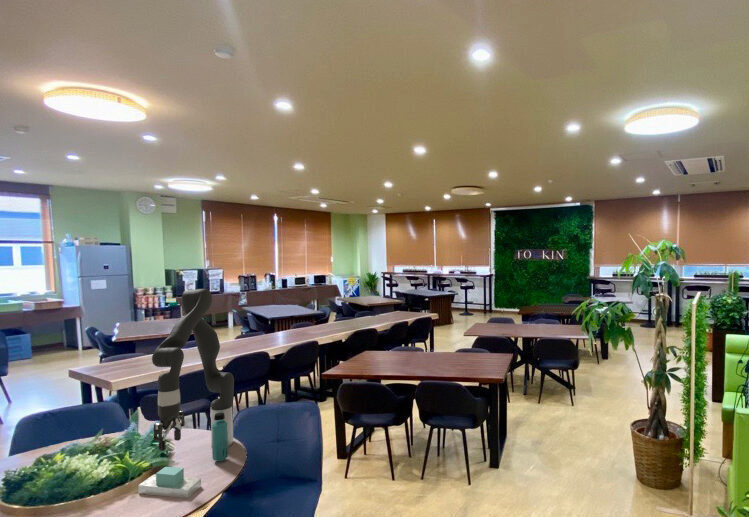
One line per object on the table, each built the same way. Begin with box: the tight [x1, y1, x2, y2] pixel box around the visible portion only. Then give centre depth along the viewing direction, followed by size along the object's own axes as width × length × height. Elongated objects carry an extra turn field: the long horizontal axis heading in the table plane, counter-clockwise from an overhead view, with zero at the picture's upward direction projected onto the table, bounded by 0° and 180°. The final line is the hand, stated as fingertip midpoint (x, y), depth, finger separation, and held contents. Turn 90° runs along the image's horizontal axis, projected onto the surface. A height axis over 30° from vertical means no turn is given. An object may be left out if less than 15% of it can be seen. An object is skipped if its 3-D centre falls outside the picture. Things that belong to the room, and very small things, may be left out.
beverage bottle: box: [211, 413, 229, 462], centre depth 179 cm, size 6×7×20 cm
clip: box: [155, 466, 185, 486], centre depth 156 cm, size 8×5×6 cm
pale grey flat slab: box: [137, 473, 202, 499], centre depth 156 cm, size 8×20×3 cm, turn 79°
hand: (170, 445), depth 156 cm, fingers open, 8 cm apart
